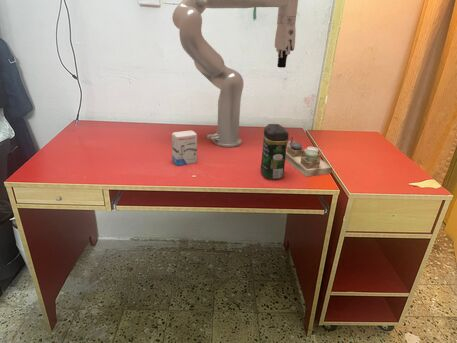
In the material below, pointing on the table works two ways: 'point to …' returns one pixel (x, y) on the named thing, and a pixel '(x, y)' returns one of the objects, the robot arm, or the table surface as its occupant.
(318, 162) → the switch board
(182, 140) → the ink box
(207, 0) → the robot arm
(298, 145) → the charcoal button
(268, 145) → the coffee jar
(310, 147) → the white button
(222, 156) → the table surface
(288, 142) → the car toy
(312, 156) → the sage button
